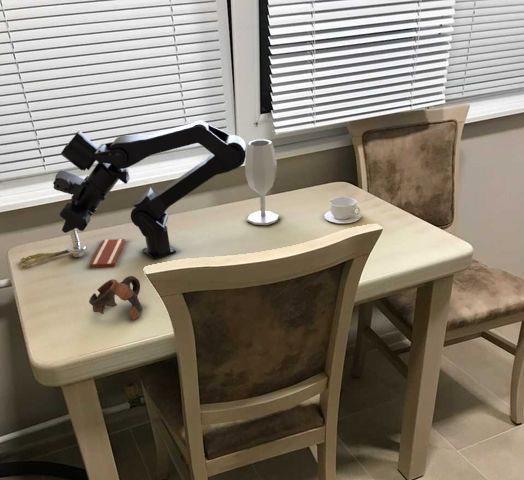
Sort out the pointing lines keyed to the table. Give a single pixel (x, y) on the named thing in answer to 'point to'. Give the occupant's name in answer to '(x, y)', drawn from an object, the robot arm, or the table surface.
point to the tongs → (40, 257)
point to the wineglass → (261, 177)
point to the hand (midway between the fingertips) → (65, 229)
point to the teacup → (343, 210)
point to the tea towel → (107, 253)
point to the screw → (76, 245)
